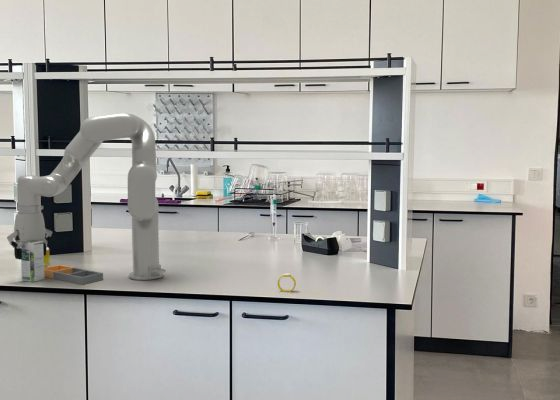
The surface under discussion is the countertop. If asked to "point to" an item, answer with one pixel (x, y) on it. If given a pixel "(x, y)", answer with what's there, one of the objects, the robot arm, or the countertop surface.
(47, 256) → the supplement bottle
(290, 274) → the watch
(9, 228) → the countertop surface
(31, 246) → the syrup box
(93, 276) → the compartment tray
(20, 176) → the robot arm
